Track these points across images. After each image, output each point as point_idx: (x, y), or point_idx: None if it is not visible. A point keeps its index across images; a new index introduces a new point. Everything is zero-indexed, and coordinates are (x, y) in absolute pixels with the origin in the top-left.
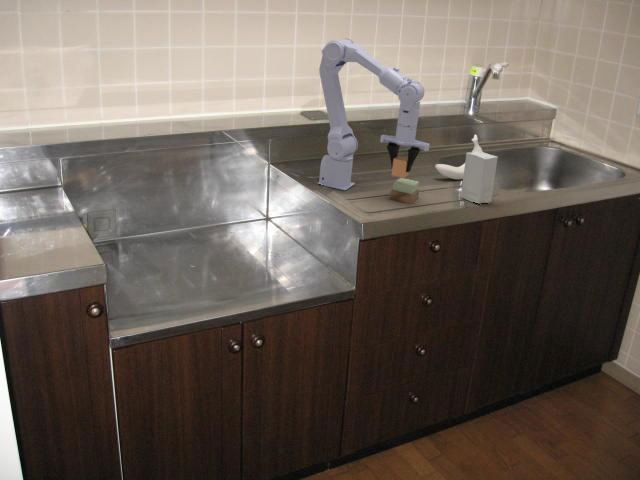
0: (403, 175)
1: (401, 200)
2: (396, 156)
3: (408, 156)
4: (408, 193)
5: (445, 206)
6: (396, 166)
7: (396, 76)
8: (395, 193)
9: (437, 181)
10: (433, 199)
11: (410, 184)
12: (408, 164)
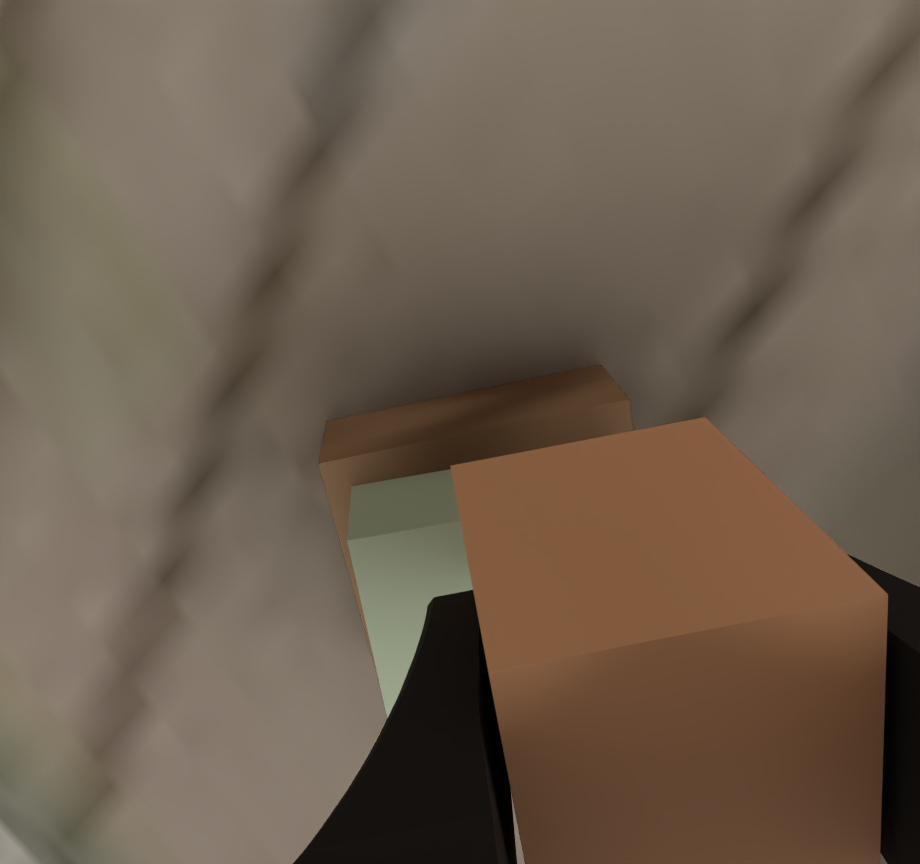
0: (472, 479)
1: (451, 399)
2: (896, 822)
3: (472, 819)
4: (392, 479)
5: (28, 646)
6: (694, 520)
7: None
8: (550, 406)
9: None
10: (247, 725)
11: (418, 591)
12: (443, 681)
